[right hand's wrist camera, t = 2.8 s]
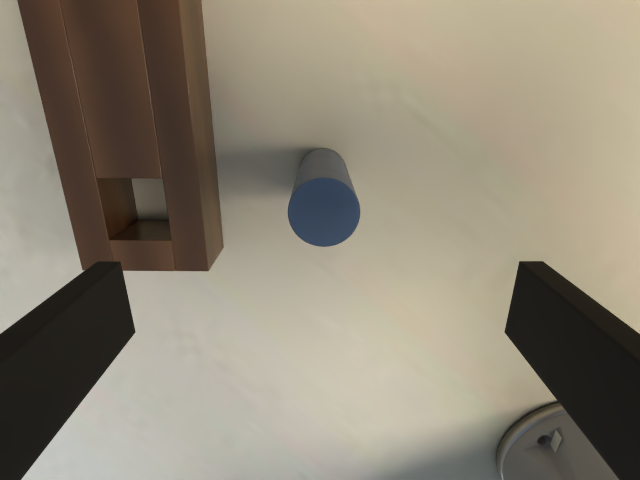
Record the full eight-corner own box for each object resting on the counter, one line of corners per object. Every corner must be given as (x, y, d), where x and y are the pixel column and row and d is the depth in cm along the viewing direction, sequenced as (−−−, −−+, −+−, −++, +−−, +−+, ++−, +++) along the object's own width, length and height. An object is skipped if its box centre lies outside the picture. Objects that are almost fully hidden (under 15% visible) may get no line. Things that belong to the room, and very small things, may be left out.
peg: (347, 148, 31) (361, 177, 20) (345, 195, 33) (358, 247, 22) (298, 147, 31) (287, 177, 20) (299, 194, 33) (288, 246, 22)
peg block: (189, -132, 25) (132, -230, 17) (223, 247, 34) (196, 289, 27) (37, -134, 25) (-85, -232, 17) (114, 246, 34) (57, 288, 27)
